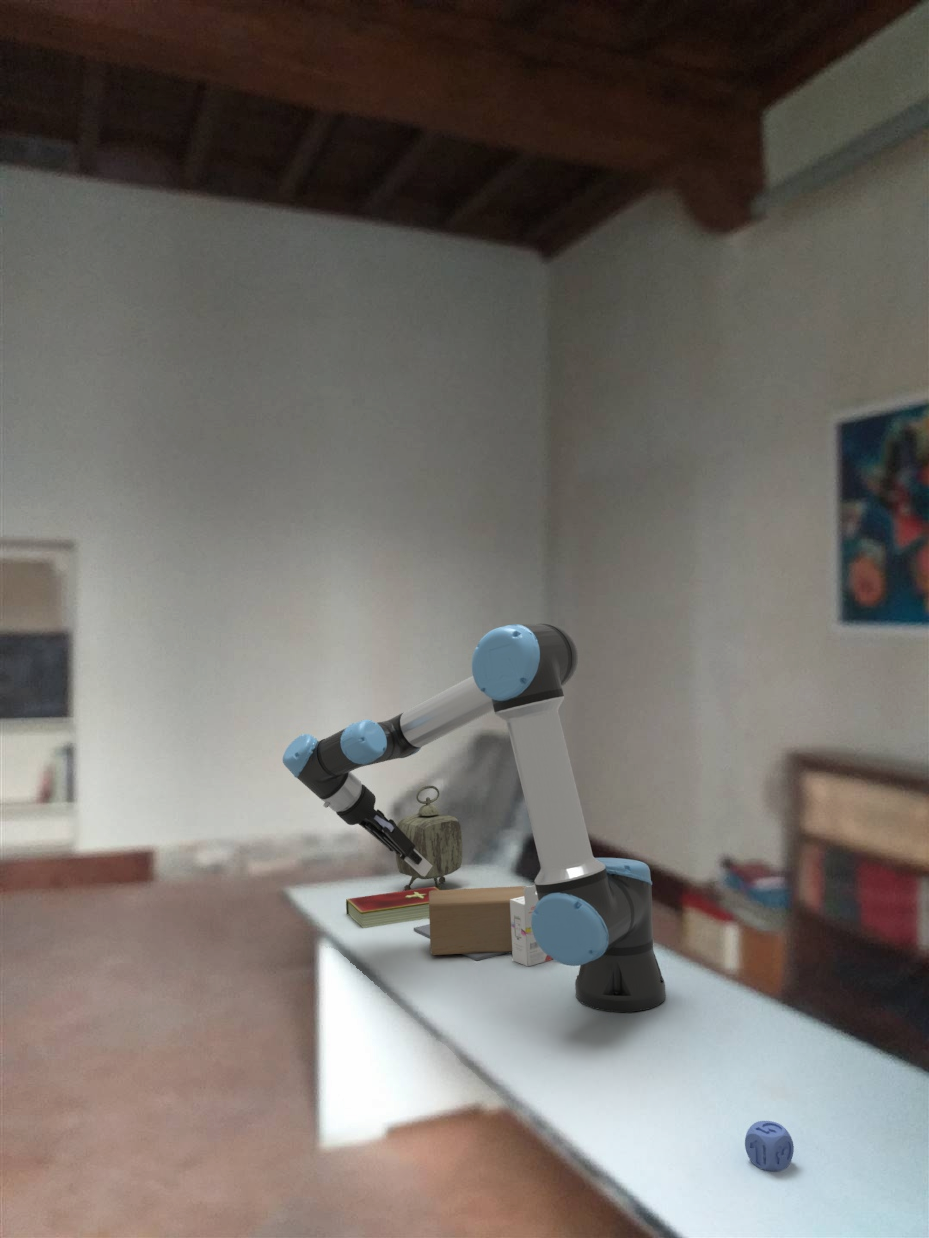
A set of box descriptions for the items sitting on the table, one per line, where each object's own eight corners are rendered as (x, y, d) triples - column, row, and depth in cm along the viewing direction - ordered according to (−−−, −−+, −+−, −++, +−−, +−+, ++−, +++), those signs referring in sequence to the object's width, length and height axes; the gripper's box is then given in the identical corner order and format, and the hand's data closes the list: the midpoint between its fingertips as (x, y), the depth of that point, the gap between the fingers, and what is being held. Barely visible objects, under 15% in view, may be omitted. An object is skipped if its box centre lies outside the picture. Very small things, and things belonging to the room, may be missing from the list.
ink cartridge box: (546, 950, 197) (543, 874, 197) (562, 957, 193) (560, 879, 193) (510, 960, 192) (508, 882, 192) (527, 967, 188) (524, 888, 188)
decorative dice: (744, 1160, 120) (743, 1126, 120) (767, 1149, 122) (766, 1116, 122) (771, 1175, 117) (770, 1140, 117) (794, 1164, 119) (793, 1130, 119)
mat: (555, 940, 203) (555, 937, 203) (476, 960, 193) (476, 957, 193) (488, 913, 223) (488, 910, 223) (413, 930, 213) (413, 927, 213)
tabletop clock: (443, 880, 253) (440, 780, 253) (467, 887, 246) (463, 783, 246) (396, 892, 243) (393, 788, 243) (419, 899, 236) (416, 792, 236)
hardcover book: (346, 915, 227) (345, 897, 227) (434, 903, 235) (434, 884, 235) (361, 930, 216) (360, 910, 216) (453, 916, 224) (452, 897, 224)
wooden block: (430, 939, 205) (529, 934, 206) (430, 955, 195) (534, 950, 196) (428, 889, 205) (527, 885, 206) (428, 903, 195) (532, 898, 196)
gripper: (322, 809, 199) (399, 879, 208) (352, 818, 188) (432, 892, 197) (345, 778, 202) (421, 849, 211) (376, 786, 191) (454, 860, 200)
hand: (426, 870), depth 204 cm, fingers closed
